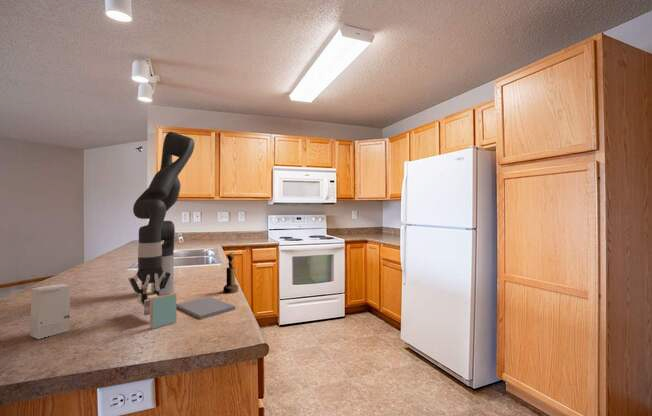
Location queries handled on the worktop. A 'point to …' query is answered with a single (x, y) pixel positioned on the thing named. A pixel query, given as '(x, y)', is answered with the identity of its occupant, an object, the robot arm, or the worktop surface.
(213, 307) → the board
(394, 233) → the worktop surface
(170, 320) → the tile
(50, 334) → the skincare box
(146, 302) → the beige rectangular block
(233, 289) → the dark brown tall piece
